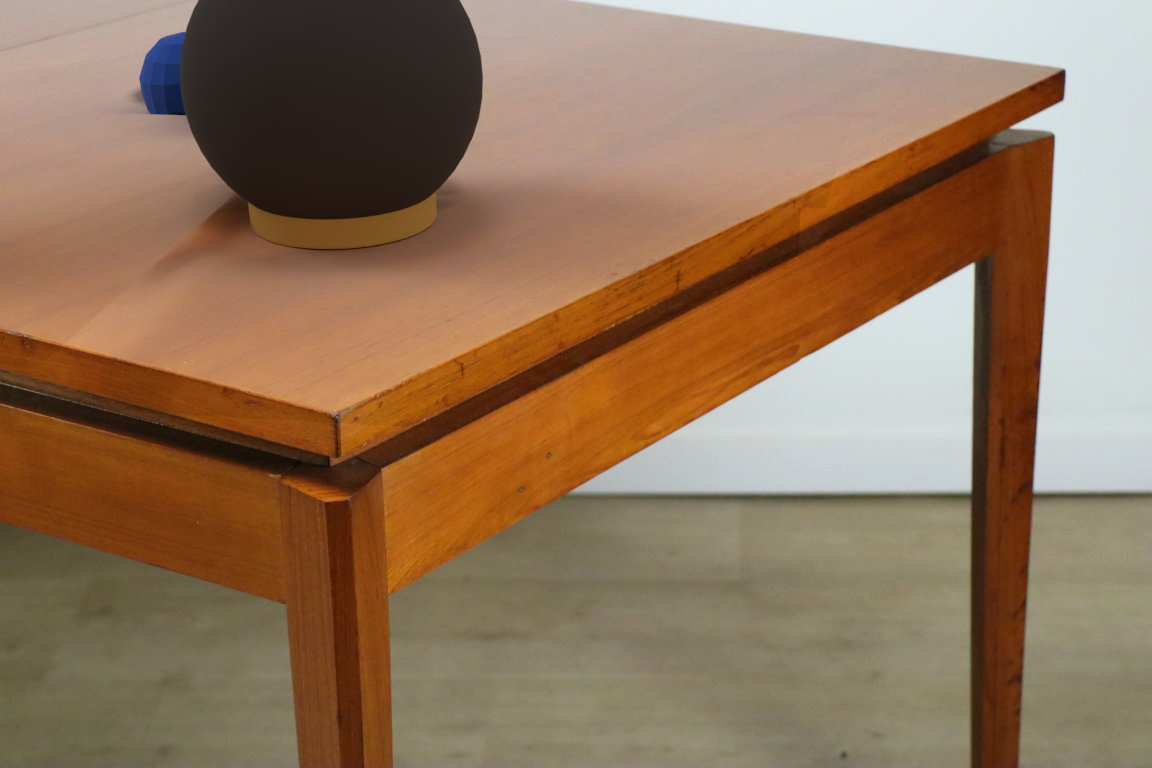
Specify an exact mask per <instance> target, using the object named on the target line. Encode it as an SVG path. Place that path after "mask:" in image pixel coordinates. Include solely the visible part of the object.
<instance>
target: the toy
mask: <svg viewBox="0 0 1152 768" xmlns="http://www.w3.org/2000/svg"><path fill="white" fill-rule="evenodd" d="M185 33H186V31H181V32H176V33H173V34H169V35H165V36H162V37H161V38H159V39H158V40H157V42H155V44H154V45H153V46H152V47H151V49H149V50H148V51H147V52H146V54H145V56H144V59H143V63H142V66H141V69H140V74H139V77H138V79H139V85H140V90H141V95H142V98H143V101H144V104H145V107H146V109H147V111H148V113H149V114H150V115H156V116H157V115H163V116H186V114H185V111H184V106H183V100H182V95H181V87H180V61H181V50H182V46H183V42H184V37H185Z"/></svg>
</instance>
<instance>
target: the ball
mask: <svg viewBox="0 0 1152 768" xmlns="http://www.w3.org/2000/svg"><path fill="white" fill-rule="evenodd" d="M185 32H186V33H185V37H184V42H183V46H182V50H181V61H180V87H181V95H182V100H183V106H184V111H185V114H186V115H185V116H186V119H187V122H188V126H189V128H190V131H191V134H192V137H193V138H194V140H195V142H196V144H197V146H198V149H199V150H200V152H201V154H202V155H203V157H204V159H205V160H206V161H207V163H208V164H209V166H210V167H211V168H212V170H213V171H214V172H215V173H216V174H217V176H218V177H219V178H220V179H221V180H222V181H223V182H224V183H225V184H226V186H227V187H229V188H230V189H231V190H232V191H233V192H234V193H236V195H238V196H239V197H240V198H241V199H243V200H244V201H245V202H247V206H248V215H249V223H250V228H251V230H252V231H253V233H254V234H256V235H257V236H258V237H259V238H262V239H263V240H266V241H268V242H271V243H274V244H278V245H281V246H285V247H293V248H298V249H299V248H301V249H310V250H312V249H314V250H348V249H357V248H358V249H360V248H367V247H374V246H380V245H385V244H389V243H390V244H391V243H393V242H398V241H401V240H405V239H407V238H410V237H412V236H415V235H418V234H419V233H421V232H424V231H425V230H427V229H428V228H429V227H430V226H432V225H433V224H434V223H435V221H436V219H437V216H438V215H437V213H438V211H437V191H438V190H439V189H440V188H441V187H442V186H443V185H444V184H445V183H446V182H447V180H448V179H449V178H450V177H452V175H453V174H454V172H455V171H456V169H457V168H458V166H459V164H460V163H461V162H462V160H463V158H464V156H465V155H466V152H467V151H468V148H469V147H470V144H471V142H472V140H473V138H474V136H475V132H476V129H477V126H478V122H479V119H480V115H481V110H482V109H481V108H482V103H483V86H484V85H483V84H484V74H483V63H482V55H481V51H480V46H479V42H478V37H477V34H476V31H475V29H474V27H473V23H472V21H471V19H470V16H469V15H468V13H467V11H466V9H465V7H464V5H463V4H462V1H461V0H197V2H196V4H195V6H194V8H193V10H192V12H191V14H190V17H189V20H188V23H187V26H186V29H185Z"/></svg>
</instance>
